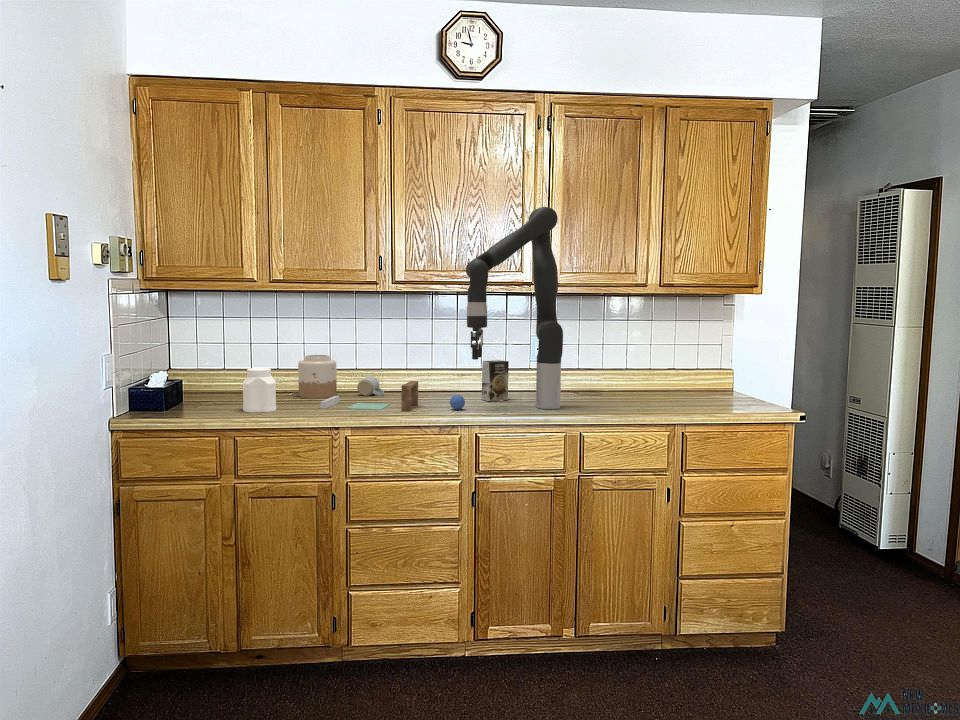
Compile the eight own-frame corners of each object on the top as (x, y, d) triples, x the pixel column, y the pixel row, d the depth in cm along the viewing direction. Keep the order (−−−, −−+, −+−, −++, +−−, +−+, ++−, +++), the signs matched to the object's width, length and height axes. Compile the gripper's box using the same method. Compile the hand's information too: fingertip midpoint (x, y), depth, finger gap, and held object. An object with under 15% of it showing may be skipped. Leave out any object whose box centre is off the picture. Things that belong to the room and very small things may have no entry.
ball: (465, 408, 278) (466, 393, 278) (463, 411, 273) (463, 396, 272) (451, 408, 279) (451, 393, 279) (448, 410, 274) (448, 395, 273)
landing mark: (389, 404, 286) (389, 404, 286) (380, 409, 273) (380, 409, 273) (357, 403, 288) (357, 402, 288) (346, 408, 275) (346, 408, 275)
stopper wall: (339, 402, 290) (339, 395, 290) (325, 408, 275) (325, 401, 274) (334, 402, 291) (334, 395, 290) (320, 408, 275) (320, 401, 275)
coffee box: (490, 402, 295) (490, 361, 294) (481, 400, 300) (481, 360, 299) (508, 400, 300) (509, 360, 299) (499, 398, 305) (500, 359, 304)
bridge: (418, 405, 285) (418, 381, 285) (409, 411, 271) (409, 386, 270) (410, 404, 286) (410, 380, 285) (401, 411, 271) (401, 385, 271)
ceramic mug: (356, 396, 308) (356, 377, 307) (362, 393, 316) (362, 375, 315) (380, 397, 306) (381, 379, 305) (386, 394, 314) (386, 376, 313)
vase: (304, 393, 314) (304, 353, 313) (340, 394, 313) (340, 354, 312) (293, 398, 299) (293, 357, 297) (331, 399, 298) (330, 357, 296)
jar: (241, 412, 264) (241, 370, 262) (244, 408, 273) (243, 367, 272) (275, 412, 266) (274, 370, 265) (277, 407, 275) (276, 367, 274)
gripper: (484, 315, 266) (484, 360, 268) (489, 313, 280) (489, 356, 282) (463, 315, 267) (463, 360, 269) (470, 313, 281) (470, 356, 283)
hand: (477, 358), depth 275 cm, fingers open, 8 cm apart
